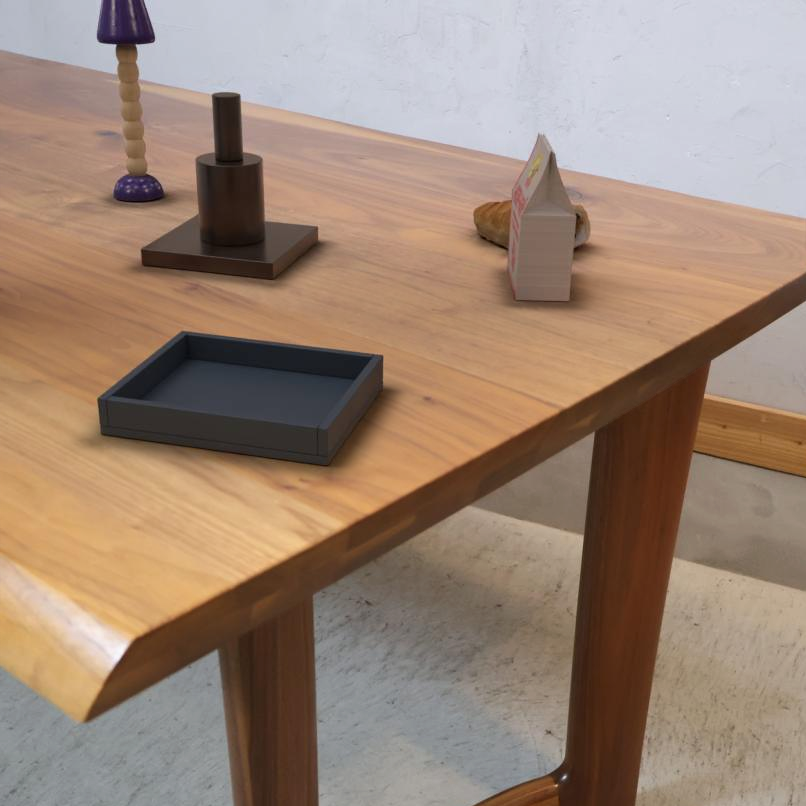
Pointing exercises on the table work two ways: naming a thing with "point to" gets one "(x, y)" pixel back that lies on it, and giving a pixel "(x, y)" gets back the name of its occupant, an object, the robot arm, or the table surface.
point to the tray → (244, 397)
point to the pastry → (496, 222)
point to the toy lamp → (130, 91)
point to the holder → (230, 212)
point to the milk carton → (541, 230)
